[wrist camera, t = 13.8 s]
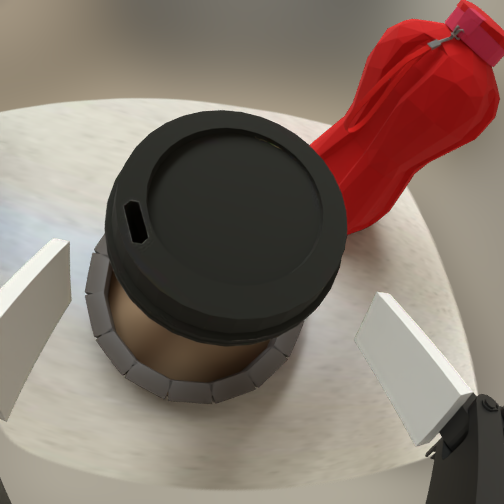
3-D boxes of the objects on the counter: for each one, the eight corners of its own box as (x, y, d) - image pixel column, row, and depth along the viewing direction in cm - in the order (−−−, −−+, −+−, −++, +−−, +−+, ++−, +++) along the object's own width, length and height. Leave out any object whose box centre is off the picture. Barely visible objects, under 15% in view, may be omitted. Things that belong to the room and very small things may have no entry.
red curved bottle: (262, 173, 31) (388, -55, 8) (341, 159, 35) (468, -1, 12) (302, 254, 29) (519, 44, 6) (379, 225, 33) (549, 83, 10)
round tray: (59, 330, 21) (48, 325, 18) (161, 174, 28) (162, 158, 26) (244, 431, 22) (252, 438, 19) (318, 259, 29) (330, 249, 27)
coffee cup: (276, 330, 25) (399, 280, 11) (160, 373, 21) (143, 389, 8) (232, 224, 27) (295, 94, 13) (122, 255, 23) (82, 124, 10)
